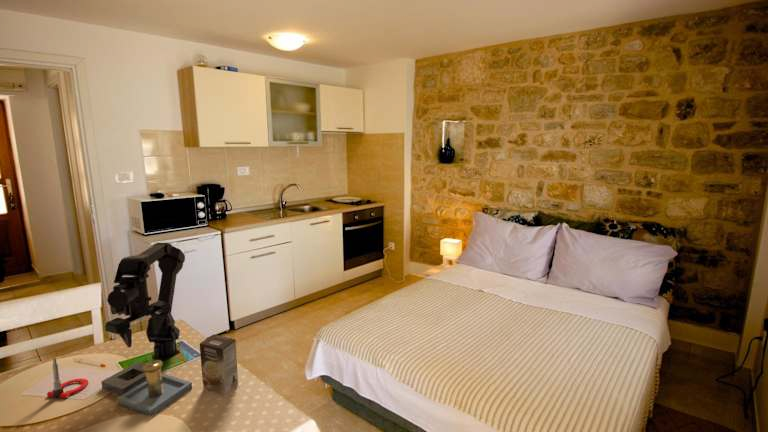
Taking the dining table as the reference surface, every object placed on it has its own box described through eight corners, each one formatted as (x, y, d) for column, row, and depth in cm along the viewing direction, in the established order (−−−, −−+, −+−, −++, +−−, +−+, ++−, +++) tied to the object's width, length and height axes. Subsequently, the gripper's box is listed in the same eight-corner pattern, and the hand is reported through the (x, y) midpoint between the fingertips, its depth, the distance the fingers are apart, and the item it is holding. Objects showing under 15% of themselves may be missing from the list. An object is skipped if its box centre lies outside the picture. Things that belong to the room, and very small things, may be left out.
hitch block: (138, 368, 133) (137, 361, 132) (159, 375, 129) (158, 368, 128) (102, 388, 122) (101, 381, 121) (123, 396, 118) (122, 389, 117)
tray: (160, 378, 127) (160, 372, 127) (192, 388, 122) (191, 382, 122) (118, 404, 114) (117, 398, 114) (151, 416, 109) (150, 410, 109)
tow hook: (72, 380, 127) (44, 397, 117) (69, 343, 125) (39, 357, 116) (95, 383, 125) (68, 400, 116) (91, 345, 123) (63, 360, 114)
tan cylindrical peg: (157, 386, 121) (154, 358, 120) (169, 390, 120) (166, 362, 118) (142, 396, 117) (138, 367, 115) (154, 400, 115) (150, 371, 113)
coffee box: (202, 390, 121) (197, 343, 118) (216, 378, 127) (213, 333, 124) (225, 396, 118) (221, 348, 115) (239, 384, 124) (236, 338, 121)
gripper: (147, 282, 134) (152, 323, 137) (90, 302, 117) (96, 349, 120) (170, 286, 130) (174, 329, 133) (114, 308, 113) (121, 356, 116)
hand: (143, 340), depth 126 cm, fingers open, 9 cm apart
